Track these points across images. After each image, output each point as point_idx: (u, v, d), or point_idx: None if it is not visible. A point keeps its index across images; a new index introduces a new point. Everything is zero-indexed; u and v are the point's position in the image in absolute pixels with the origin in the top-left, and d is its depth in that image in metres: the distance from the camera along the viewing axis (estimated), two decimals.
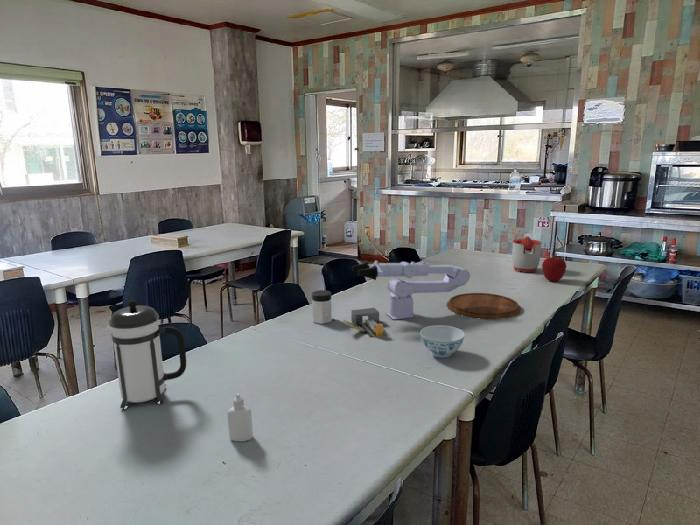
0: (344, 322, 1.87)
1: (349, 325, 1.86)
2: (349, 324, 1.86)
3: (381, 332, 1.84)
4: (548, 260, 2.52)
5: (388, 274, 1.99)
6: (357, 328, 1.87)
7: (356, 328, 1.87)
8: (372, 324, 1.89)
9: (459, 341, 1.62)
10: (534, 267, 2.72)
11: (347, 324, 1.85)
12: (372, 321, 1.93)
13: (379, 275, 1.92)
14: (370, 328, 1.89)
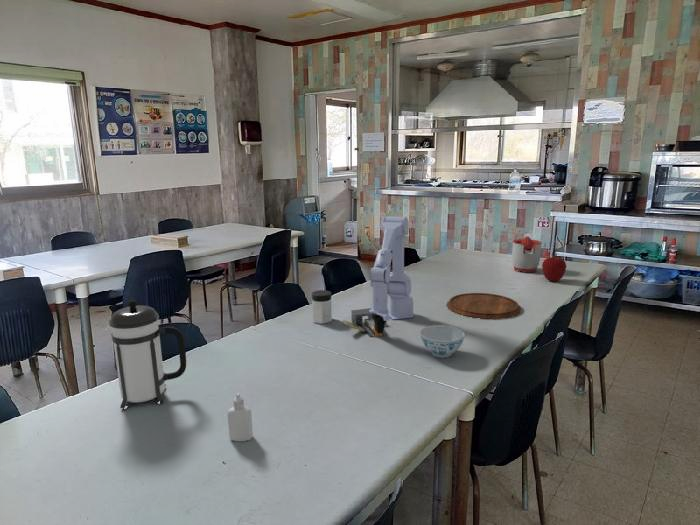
0: (344, 322, 1.87)
1: (349, 325, 1.86)
2: (349, 324, 1.86)
3: None
4: (548, 260, 2.52)
5: (385, 299, 1.78)
6: (357, 328, 1.87)
7: (356, 328, 1.87)
8: (371, 323, 1.90)
9: (459, 341, 1.62)
10: (534, 267, 2.72)
11: (347, 324, 1.85)
12: (371, 320, 1.93)
13: (388, 319, 1.75)
14: (369, 327, 1.90)
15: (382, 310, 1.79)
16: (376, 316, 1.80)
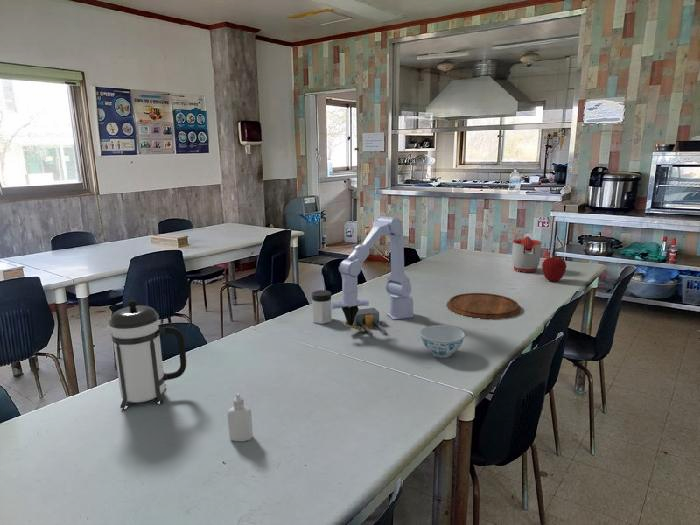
0: (343, 323, 1.87)
1: (348, 326, 1.86)
2: (348, 325, 1.86)
3: (371, 322, 1.95)
4: (548, 260, 2.52)
5: (344, 292, 1.83)
6: (357, 328, 1.87)
7: (356, 328, 1.87)
8: None
9: (459, 341, 1.62)
10: (534, 267, 2.72)
11: (346, 325, 1.86)
12: None
13: (331, 307, 1.84)
14: None
15: (342, 301, 1.85)
16: None
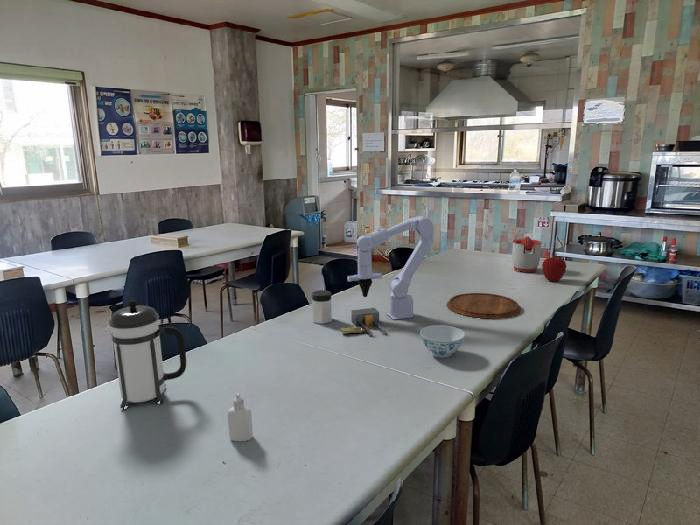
0: (341, 331, 1.87)
1: (346, 332, 1.86)
2: (346, 331, 1.86)
3: (371, 322, 1.95)
4: (548, 260, 2.52)
5: (359, 266, 1.99)
6: (355, 331, 1.87)
7: (354, 332, 1.87)
8: None
9: (459, 341, 1.62)
10: (534, 267, 2.72)
11: (344, 332, 1.86)
12: None
13: (348, 280, 1.99)
14: None
15: (358, 274, 2.01)
16: None
